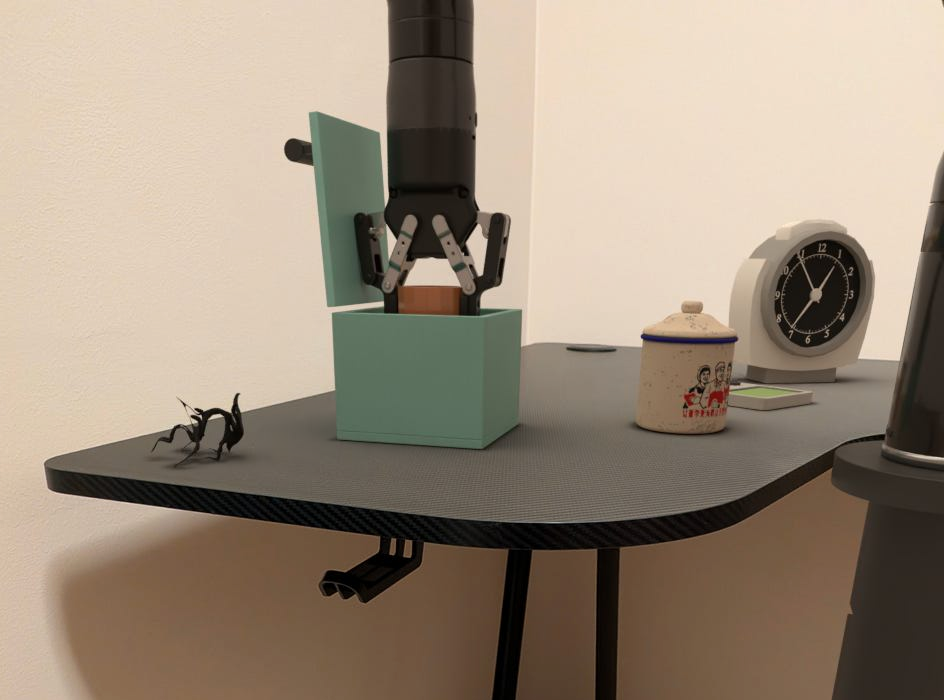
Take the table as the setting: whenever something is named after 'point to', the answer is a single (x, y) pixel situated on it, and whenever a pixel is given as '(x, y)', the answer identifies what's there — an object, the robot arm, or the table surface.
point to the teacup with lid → (685, 373)
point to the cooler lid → (343, 200)
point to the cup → (429, 300)
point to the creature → (198, 431)
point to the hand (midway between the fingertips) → (432, 337)
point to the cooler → (427, 376)
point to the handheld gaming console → (765, 396)
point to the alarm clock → (802, 303)
